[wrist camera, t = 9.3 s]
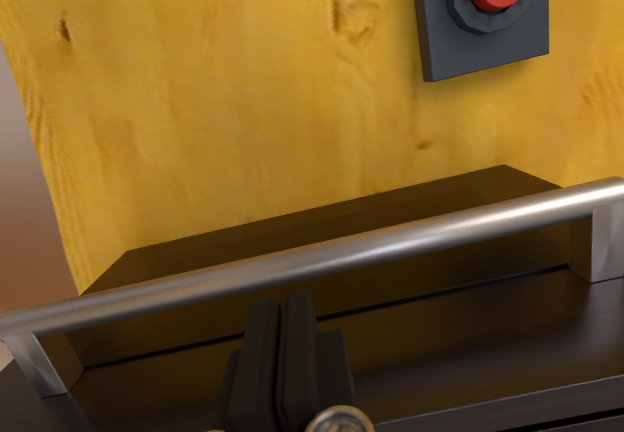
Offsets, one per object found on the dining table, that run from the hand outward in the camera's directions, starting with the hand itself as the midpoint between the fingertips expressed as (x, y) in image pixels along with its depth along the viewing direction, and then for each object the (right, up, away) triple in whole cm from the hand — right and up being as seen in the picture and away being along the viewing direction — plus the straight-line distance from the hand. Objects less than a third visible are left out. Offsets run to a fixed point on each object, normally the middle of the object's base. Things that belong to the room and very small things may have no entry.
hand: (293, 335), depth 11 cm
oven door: (0, +6, +26) cm, 27 cm away
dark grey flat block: (+14, +22, +21) cm, 34 cm away
